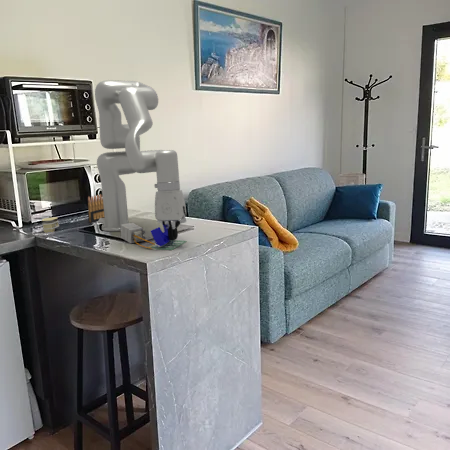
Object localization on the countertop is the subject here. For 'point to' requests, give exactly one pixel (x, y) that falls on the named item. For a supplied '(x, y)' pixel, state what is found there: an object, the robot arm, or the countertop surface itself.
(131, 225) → the electrical component
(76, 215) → the countertop surface
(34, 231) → the countertop surface
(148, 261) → the countertop surface
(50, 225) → the stacked layers on plate
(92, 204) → the ammunition clip
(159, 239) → the cable clip
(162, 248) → the header pad
